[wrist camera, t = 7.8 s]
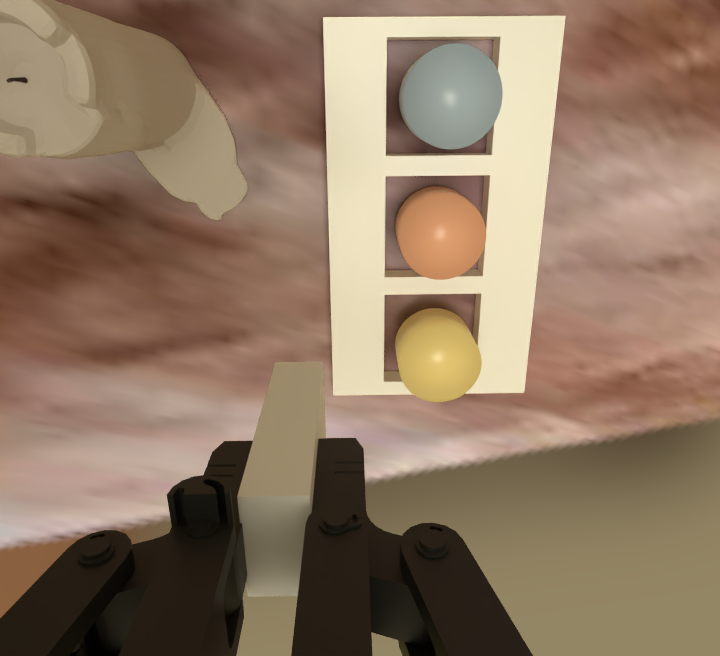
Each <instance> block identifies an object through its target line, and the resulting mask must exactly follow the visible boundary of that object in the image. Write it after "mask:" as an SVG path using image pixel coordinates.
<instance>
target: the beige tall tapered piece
mask: <svg viewBox="0 0 720 656" xmlns="http://www.w3.org/2000/svg"><path fill="white" fill-rule="evenodd" d="M123 151H133V152H134V153H135V154H136V156H137V157H138V158H139V160H140V161H141V162H142V164H143V165H144V166H145V168H146V169H147V170H148V171H149V172H150V173H151V175H152V176H153V177H154V178H155V179H156V180H157V181H158V182H159V183H160V184H161V185H162V186H163V187H164V188H165V189H166V190H167V191H168V192H169V193H170V194H171V195H173V196H175V197H177V198H179V199H181V200H183V201H188V202H194V203H196V204H197V206H198V207H199V209H200V210H201V212H202V213H204V214H205V215H206V216H207V217H208V218H210V219H214V220H219V219H221V218H222V214H224V213H225V212H227V211H229V210H231V209H232V208H234V207H235V206H236V205H237V204H239V202H240V201H241V200H242V199H243V198H244V196H245V194H246V193H247V182H246V180H245V178H244V176H243V174H242V172H241V171H240V169H239V167H238V165H237V153H236V146H235V139H234V137H233V134H232V132H231V130H230V127H229V125H228V123H227V120H226V118H225V116H224V114H223V113H222V111H221V110H220V108H219V107H218V105H217V104H216V102H215V101H214V100H213V98H212V97H211V95H210V94H209V92H208V91H207V89H206V88H205V87H204V85H203V84H202V83H201V81H200V80H199V79H198V77H197V76H196V75H195V73H194V71H193V70H192V68H191V66H190V64H189V63H188V61H187V59H186V58H185V56H184V55H183V54H182V53H181V51H180V50H179V49H178V48H176V47H175V46H174V45H173V44H172V43H170V42H169V41H168V40H166V39H164V38H162V37H160V36H158V35H155V34H152V33H149V32H146V31H143V30H140V29H136V28H133V27H129V26H126V25H122V24H119V23H116V22H113V21H111V20H108V19H106V18H103V17H101V16H98V15H95V14H93V13H90V12H87V11H84V10H81V9H78V8H75V7H72V6H69V5H66V4H63V3H60V2H58V1H55V0H0V154H3V155H6V156H10V157H16V158H22V157H28V156H42V157H50V158H61V159H74V158H79V157H88V156H99V155H106V154H113V153H118V152H123Z"/></svg>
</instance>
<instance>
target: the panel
mask: <svg viewBox="0 0 720 656" xmlns="http://www.w3.org/2000/svg"><path fill="white" fill-rule="evenodd" d="M564 25H565V16H448V17H323V35H324V72H325V108H326V145H327V181H328V218H329V254H330V291H331V327H332V364H333V395H399V394H412V393H411V392H410V391H409V390H408V389H407V388H406V386H405V385H404V383H403V382H402V379H401V377H400V372H399V371H384V295H399V294H476V297H475V312H474V326H473V338H474V340H475V342H476V344H477V346H478V348H479V350H480V354H481V359H482V366H481V371H480V375H479V377H478V379H477V381H476V382H475V384H474V385H473V386H472V388H470V389H469V390H468V391H467V392H466V393H465V394H467V393H524V388H525V379H526V370H527V361H528V352H529V343H530V334H531V325H532V316H533V307H534V298H535V289H536V279H537V270H538V261H539V252H540V243H541V234H542V225H543V216H544V207H545V198H546V189H547V180H548V170H549V161H550V152H551V143H552V134H553V125H554V116H555V107H556V98H557V89H558V80H559V71H560V61H561V52H562V43H563V34H564ZM387 40H494V41H493V55H492V62H493V63H494V64H495V66H496V68H497V70H498V72H499V75H500V78H501V82H502V90H503V96H502V105H501V108H500V112H499V114H498V117H497V119H496V121H495V123H494V124H493V126H492V127H491V129H490V130H489V131H488V132H487V141H486V153H405V154H386V65H387ZM461 175H484V183H483V198H482V212H481V216H482V218H483V220H484V223H485V227H486V242H485V246H484V249H483V252H482V254H481V256H480V258H479V259H478V269H469V270H468V271H466V272H465V273H463V274H462V275H459V276H457V277H454V278H451V279H446V280H435V279H430V278H427V277H424V276H422V275H420V274H418V273H417V272H415V271H414V270H385V178H386V176H461Z"/></svg>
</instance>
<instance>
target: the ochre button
mask: <svg viewBox="0 0 720 656" xmlns="http://www.w3.org/2000/svg"><path fill="white" fill-rule="evenodd" d="M395 351H396V356H397V362H398V367H399V372H400V377H401V379H402V382H403V383H404V385H405V386H406V388H407V389H408V390H409V391H410V392H411V393H412V394H414V395H415V396H417V397H418V398H421V399H423V400H426V401H431V402H445V401H450V400H453V399H456V398H458V397H460V396H462V395H463V394H465V393H466V392H467V391H468V390H469V389H470V388H472V386H473V385H474V384H475V382H476V381H477V379H478V377H479V375H480V371H481V366H482V359H481V354H480V350H479V348H478V346H477V344H476V342H475V340H474V338H473V336H472V335H471V333H470V331H469V329H468V327H467V325H466V324H465V322H464V321H463V320H462V319H461V318H460V317H459V316H458V315H456V314H455V313H453V312H451V311H449V310H446V309H441V308H429V309H424V310H421V311H418V312H416V313H414V314H413V315H411V316H410V317H409V318H407V319H406V320H405V321H404V322H403V324H402V325H401V326H400V328H399V330H398V332H397V335H396V339H395Z"/></svg>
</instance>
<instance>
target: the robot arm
mask: <svg viewBox="0 0 720 656" xmlns="http://www.w3.org/2000/svg"><path fill="white" fill-rule="evenodd" d="M167 499H168V505H169V511H170V518H171V524H172V528H171V530H170V532H169V533H168V534H166V535H164V536H162V537H159V538H156V539H153V540H149V541H145V542H141V543H137V544H133V545H132V544H131V540H130V539H129V537H128V536H127V535H126V534H125V533H122V532H119V531H115V530H104V531H100V532H96V533H91V534H89V535H87V536H85V537H83V538H81V539H79V540H77V541H76V542H75V543H74V544H72V545H71V546H70V547H69V548H68V549H67V550H66V551H65V552H64V553H63V554H62V555H61V556H60V557H59V558H58V559H57V560H56V561H55V562H54V563H53V564H52V565H51V566H50V567H49V568H48V569H47V571H46V572H45V573H44V574H43V575H42V576H41V577H40V578H39V579H38V580H37V581H36V582H35V583H34V584H33V585H32V586H31V587H30V588H29V589H28V590H27V592H25V593H24V595H23V596H22V597H21V598H20V599H19V600H18V601H17V602H16V603H15V604H14V605H13V606H12V607H11V608H10V609H9V610H8V611H7V612H6V613H5V614H4V615H3V616H2V617H1V618H0V656H236V654H237V649H238V644H239V639H240V634H241V629H242V624H243V619H244V609H243V599H242V597H243V592H244V588H245V583H246V585H247V595H248V597H258V596H298V599H297V608H296V617H295V627H294V636H293V645H292V655H291V656H372V638H371V632H373V633H376V634H380V635H383V636H386V637H390V638H394V639H397V640H398V641H399V647H400V650H401V653H402V655H403V656H533V655H532V653H531V652H530V650H529V648H528V647H527V645H526V643H525V642H524V640H523V639H522V637H521V635H520V634H519V632H518V630H517V629H516V627H515V625H514V624H513V622H512V620H511V619H510V617H509V615H508V614H507V612H506V610H505V609H504V607H503V605H502V604H501V602H500V600H499V599H498V597H497V595H496V594H495V592H494V590H493V589H492V587H491V585H490V584H489V582H488V580H487V579H486V577H485V575H484V574H483V572H482V570H481V569H480V567H479V566H478V564H477V562H476V560H475V559H474V557H473V556H472V554H471V552H470V550H469V549H468V547H467V545H466V544H465V542H464V541H463V539H462V538H461V537H460V536H459V535H458V533H457V532H456V531H454V530H452V529H450V528H448V527H447V526H445V525H440V524H436V523H421V524H418V525H415V526H413V527H410V529H408V530H407V531H406V532H405V533H404V534H403V536H400V535H396V534H392V533H389V532H386V531H383V530H382V529H380V528H378V527H376V526H375V525H374V524H373V523H372V522H371V521H370V519H369V518H368V516H367V512H366V502H365V501H366V500H365V476H364V451H363V447H362V446H361V445H360V444H359V442H358V441H357V440H356V438H326V429H325V400H324V371H323V362H275V365H274V369H273V372H272V376H271V379H270V383H269V386H268V390H267V393H266V397H265V401H264V404H263V408H262V411H261V415H260V418H259V422H258V425H257V429H256V432H255V436H254V439H253V441H224V442H223V443H222V444H221V445H220V446H219V447H218V448H217V449H216V450H214V451H213V452H212V455H211V457H210V460H209V462H208V465H207V467H206V470H205V472H204V475H203V476H195V477H191V478H189V479H186V480H183V481H181V482H180V483H178V484H177V485H175V486H174V487H172V489H171V490H170V491H169V493H168V494H167Z"/></svg>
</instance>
